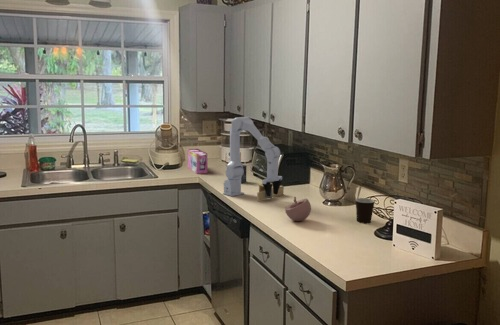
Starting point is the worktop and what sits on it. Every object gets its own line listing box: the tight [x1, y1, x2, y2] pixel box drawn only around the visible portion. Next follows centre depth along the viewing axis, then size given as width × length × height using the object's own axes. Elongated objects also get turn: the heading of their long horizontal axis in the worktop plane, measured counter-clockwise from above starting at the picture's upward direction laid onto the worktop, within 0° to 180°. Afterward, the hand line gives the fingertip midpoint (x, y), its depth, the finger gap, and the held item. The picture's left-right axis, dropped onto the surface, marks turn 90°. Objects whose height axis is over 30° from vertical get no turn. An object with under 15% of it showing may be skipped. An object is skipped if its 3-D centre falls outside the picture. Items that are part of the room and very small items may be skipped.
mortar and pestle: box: [284, 196, 312, 222], centre depth 229 cm, size 12×12×11 cm
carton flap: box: [256, 189, 275, 202], centre depth 264 cm, size 12×5×7 cm, turn 132°
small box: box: [241, 164, 247, 184], centre depth 308 cm, size 11×6×10 cm, turn 62°
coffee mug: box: [355, 197, 375, 224], centre depth 230 cm, size 12×9×10 cm
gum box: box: [187, 148, 209, 175], centre depth 340 cm, size 24×8×14 cm, turn 23°
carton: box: [258, 182, 285, 198], centre depth 278 cm, size 8×12×5 cm, turn 44°
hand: (271, 195), depth 263 cm, fingers open, 5 cm apart
